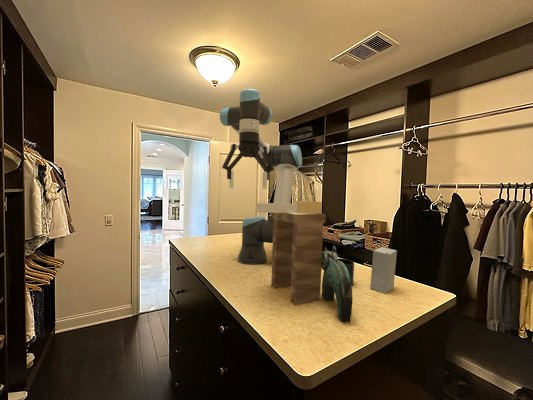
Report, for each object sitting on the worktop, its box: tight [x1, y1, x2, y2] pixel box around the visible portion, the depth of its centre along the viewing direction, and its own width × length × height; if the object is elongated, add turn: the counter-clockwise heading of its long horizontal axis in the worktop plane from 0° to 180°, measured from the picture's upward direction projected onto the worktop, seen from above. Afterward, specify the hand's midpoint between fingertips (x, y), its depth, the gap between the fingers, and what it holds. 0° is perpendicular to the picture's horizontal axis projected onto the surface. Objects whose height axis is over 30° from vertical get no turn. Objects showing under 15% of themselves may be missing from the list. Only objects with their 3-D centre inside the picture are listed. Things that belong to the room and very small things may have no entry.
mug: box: [338, 257, 355, 286], centre depth 105 cm, size 9×12×9 cm
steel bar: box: [255, 200, 323, 214], centre depth 87 cm, size 5×22×4 cm, turn 101°
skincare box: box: [370, 246, 398, 294], centre depth 100 cm, size 8×7×16 cm
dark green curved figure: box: [321, 245, 354, 323], centre depth 82 cm, size 20×6×20 cm, turn 4°
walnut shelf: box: [270, 213, 327, 306], centre depth 93 cm, size 18×12×30 cm, turn 25°
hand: (248, 188), depth 97 cm, fingers open, 13 cm apart
